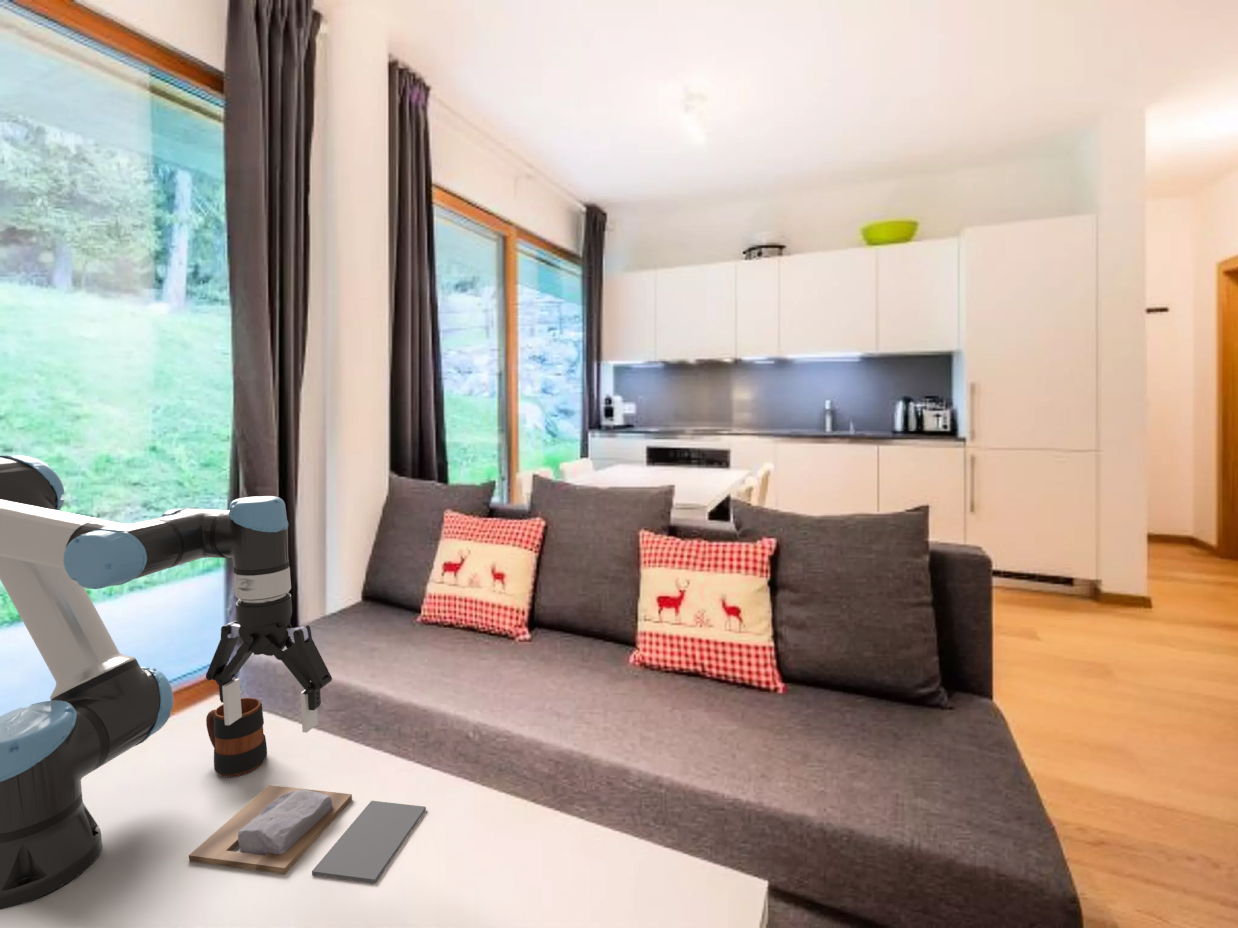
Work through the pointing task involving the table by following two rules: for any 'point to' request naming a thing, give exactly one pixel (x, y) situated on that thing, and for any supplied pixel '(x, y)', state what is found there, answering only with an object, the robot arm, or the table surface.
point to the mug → (238, 739)
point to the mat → (370, 842)
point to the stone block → (283, 822)
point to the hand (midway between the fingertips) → (271, 724)
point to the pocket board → (226, 841)
